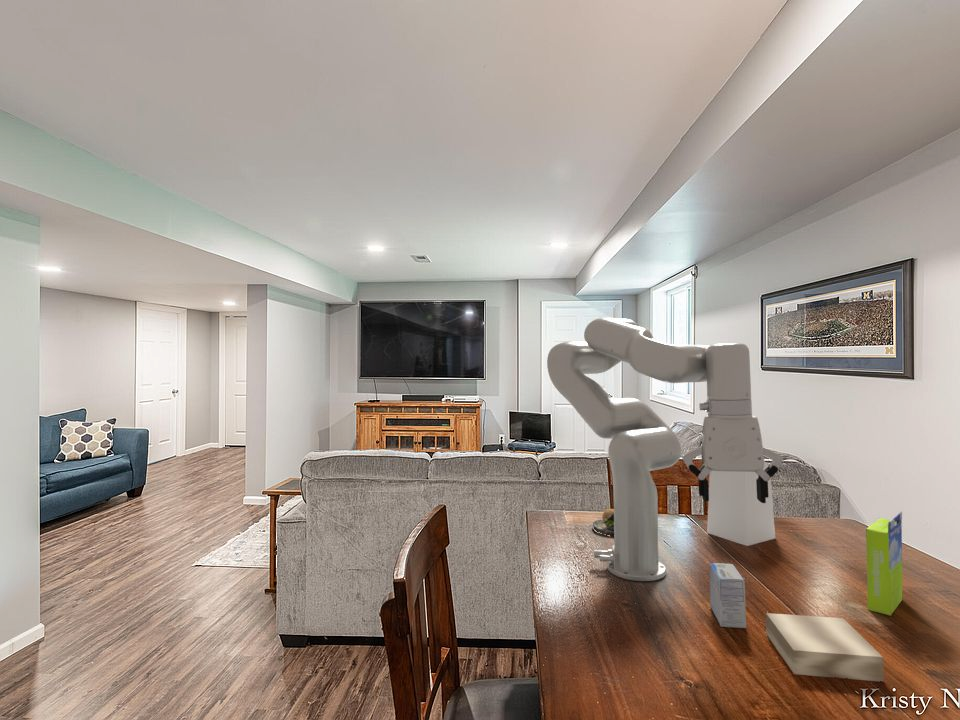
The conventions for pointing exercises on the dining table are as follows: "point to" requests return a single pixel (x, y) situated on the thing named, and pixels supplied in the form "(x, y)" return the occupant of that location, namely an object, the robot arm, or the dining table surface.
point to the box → (884, 565)
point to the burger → (605, 523)
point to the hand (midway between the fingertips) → (733, 500)
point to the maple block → (823, 647)
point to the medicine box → (727, 595)
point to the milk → (739, 508)
